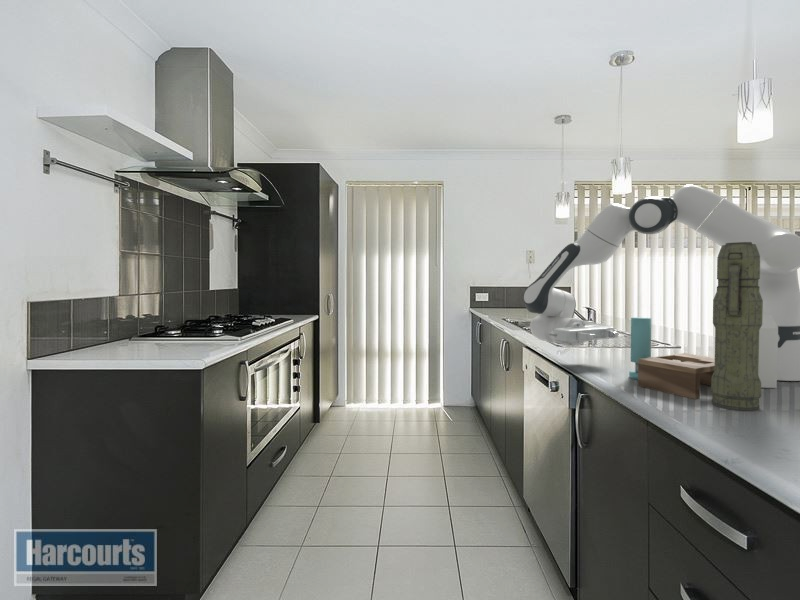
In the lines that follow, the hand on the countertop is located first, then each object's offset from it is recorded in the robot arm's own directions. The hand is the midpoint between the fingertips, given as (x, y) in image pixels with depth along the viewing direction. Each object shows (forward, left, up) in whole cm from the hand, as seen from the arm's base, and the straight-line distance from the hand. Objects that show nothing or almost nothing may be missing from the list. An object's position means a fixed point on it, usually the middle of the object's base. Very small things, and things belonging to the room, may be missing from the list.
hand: (605, 336), depth 146 cm
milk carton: (-5, +36, -10) cm, 37 cm away
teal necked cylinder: (+4, +11, -10) cm, 16 cm away
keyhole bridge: (+9, +25, -10) cm, 28 cm away
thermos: (+20, +36, -10) cm, 43 cm away
